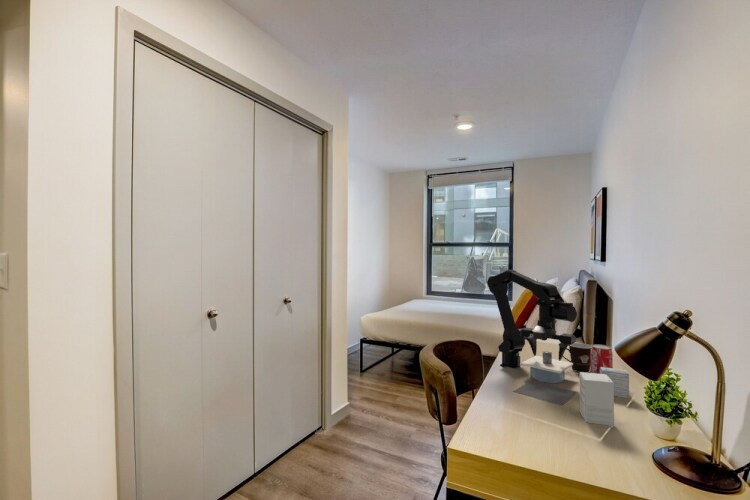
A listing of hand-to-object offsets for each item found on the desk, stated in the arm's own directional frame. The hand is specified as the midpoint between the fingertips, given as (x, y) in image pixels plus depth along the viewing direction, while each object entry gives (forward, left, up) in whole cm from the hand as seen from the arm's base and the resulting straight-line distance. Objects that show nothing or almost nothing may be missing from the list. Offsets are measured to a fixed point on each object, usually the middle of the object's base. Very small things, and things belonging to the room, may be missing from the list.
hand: (547, 358), depth 139 cm
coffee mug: (+4, +21, -8) cm, 23 cm away
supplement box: (+23, -25, -8) cm, 35 cm away
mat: (+5, -15, -8) cm, 18 cm away
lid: (0, 0, -3) cm, 3 cm away
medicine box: (+22, 0, -8) cm, 23 cm away
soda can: (+15, +13, -8) cm, 22 cm away
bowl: (0, 0, -8) cm, 8 cm away
